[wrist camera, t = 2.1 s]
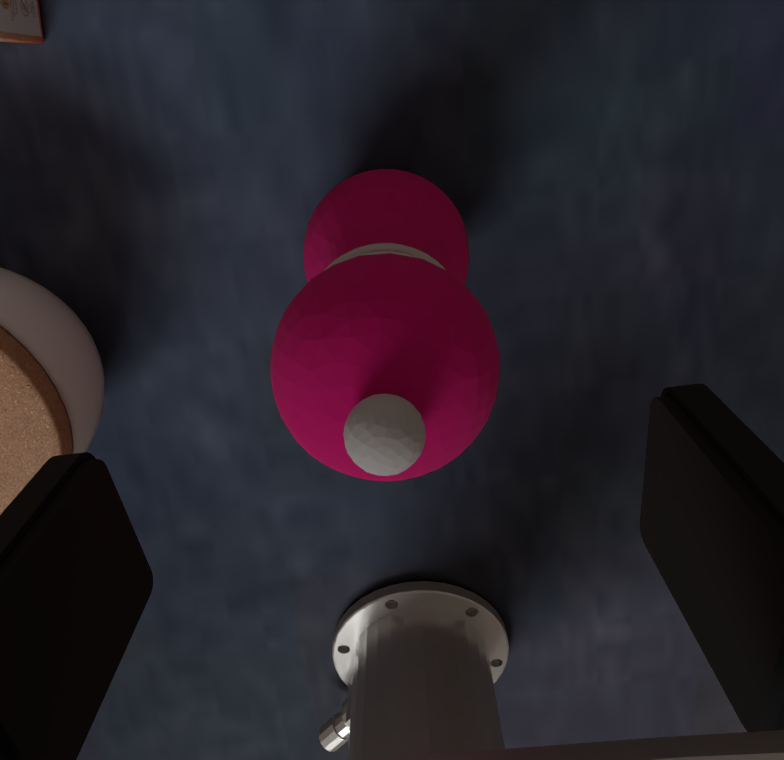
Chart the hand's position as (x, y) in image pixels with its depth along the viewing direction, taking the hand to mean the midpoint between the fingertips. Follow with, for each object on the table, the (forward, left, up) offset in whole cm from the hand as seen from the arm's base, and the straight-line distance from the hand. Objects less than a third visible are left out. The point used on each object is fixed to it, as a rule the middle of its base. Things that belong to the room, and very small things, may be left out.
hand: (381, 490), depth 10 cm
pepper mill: (0, 0, -22) cm, 22 cm away
